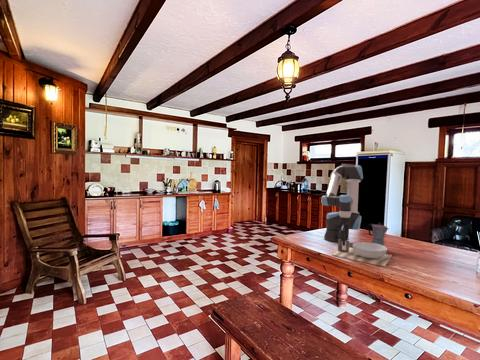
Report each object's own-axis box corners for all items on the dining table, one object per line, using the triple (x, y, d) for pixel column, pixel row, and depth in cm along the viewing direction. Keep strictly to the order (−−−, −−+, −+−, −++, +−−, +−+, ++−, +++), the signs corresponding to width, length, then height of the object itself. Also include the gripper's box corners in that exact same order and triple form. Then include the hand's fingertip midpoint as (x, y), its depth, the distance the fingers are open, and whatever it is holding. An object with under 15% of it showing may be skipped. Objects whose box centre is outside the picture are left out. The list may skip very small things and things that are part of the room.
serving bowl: (356, 249, 185) (356, 240, 185) (389, 255, 172) (389, 245, 172) (348, 257, 169) (348, 246, 169) (383, 264, 156) (383, 253, 156)
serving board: (332, 255, 174) (332, 243, 174) (343, 247, 193) (344, 236, 193) (384, 266, 153) (385, 252, 153) (392, 256, 173) (392, 243, 172)
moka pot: (385, 252, 181) (385, 224, 180) (363, 247, 193) (364, 221, 192) (390, 249, 187) (391, 222, 186) (369, 245, 199) (369, 219, 198)
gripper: (347, 218, 172) (346, 253, 172) (353, 215, 183) (353, 247, 184) (336, 217, 176) (335, 250, 177) (342, 214, 188) (342, 246, 189)
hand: (344, 249), depth 181 cm, fingers closed on serving board, 2 cm apart
